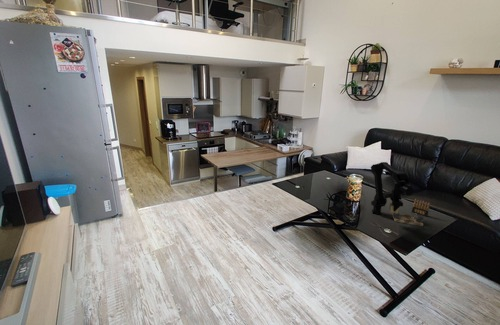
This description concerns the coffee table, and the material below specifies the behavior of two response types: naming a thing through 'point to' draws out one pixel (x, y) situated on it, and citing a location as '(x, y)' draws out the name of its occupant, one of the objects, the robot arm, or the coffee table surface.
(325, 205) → the coffee table surface
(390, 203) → the block
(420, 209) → the ammunition clip
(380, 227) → the pliers
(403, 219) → the shaft stand
